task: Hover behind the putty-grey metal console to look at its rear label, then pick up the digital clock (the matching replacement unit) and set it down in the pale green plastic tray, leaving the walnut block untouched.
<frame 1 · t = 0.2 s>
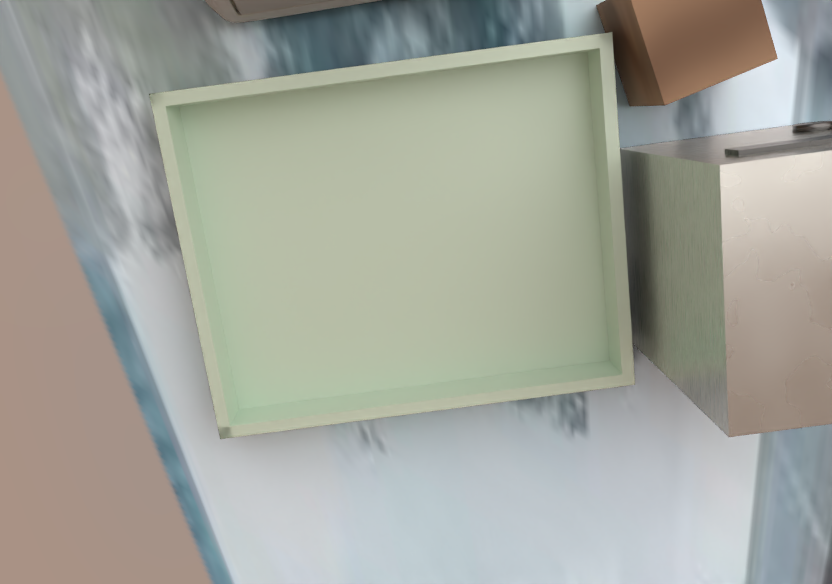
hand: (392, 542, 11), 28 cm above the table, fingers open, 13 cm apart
tray: (404, 237, 38), on the table
walnut block: (661, 36, 36), on the table
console: (721, 234, 38), on the table
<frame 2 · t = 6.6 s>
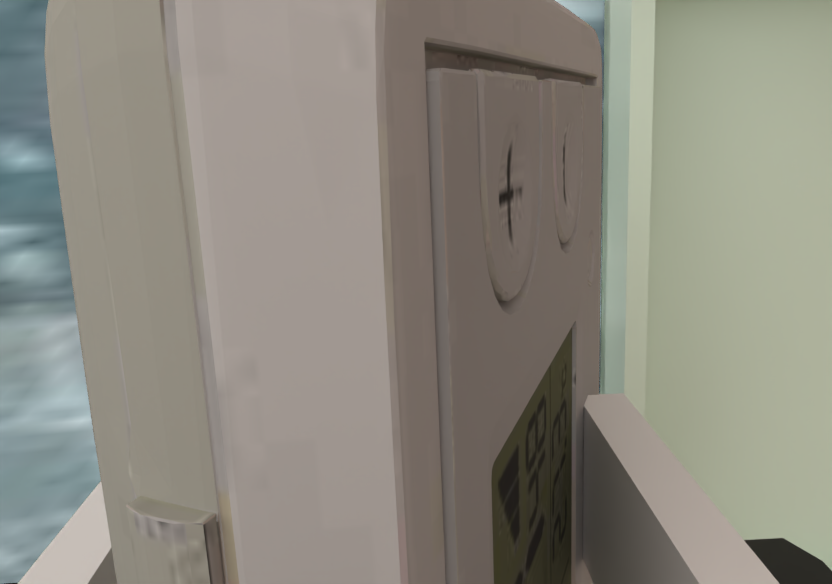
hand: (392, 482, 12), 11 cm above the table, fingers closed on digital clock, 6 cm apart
digital clock: (449, 411, 16), point 8 cm above the table, touching gripper
when the fingers open (2 cm above the table, at t = 10.6 s): digital clock stays where it is, resting on tray.
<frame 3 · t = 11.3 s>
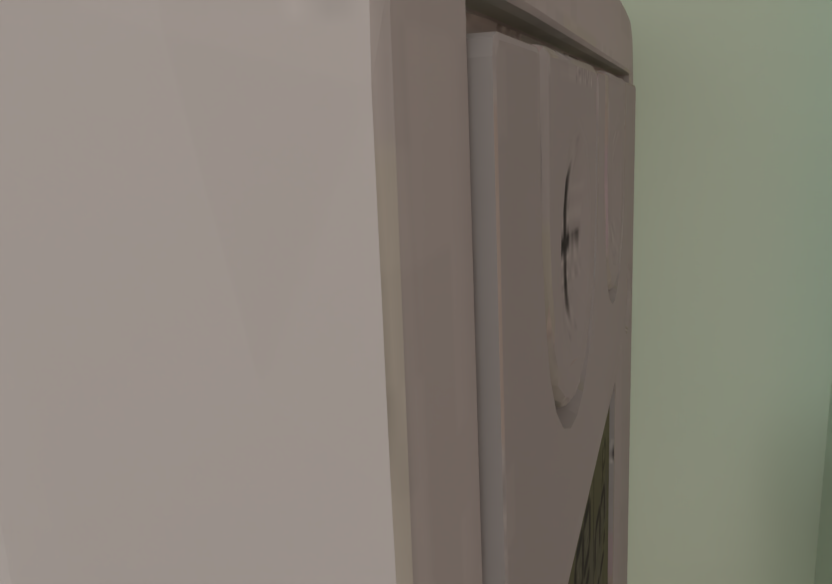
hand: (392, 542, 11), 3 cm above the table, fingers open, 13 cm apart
tray: (393, 446, 14), on the table
digital clock: (447, 469, 14), resting on tray
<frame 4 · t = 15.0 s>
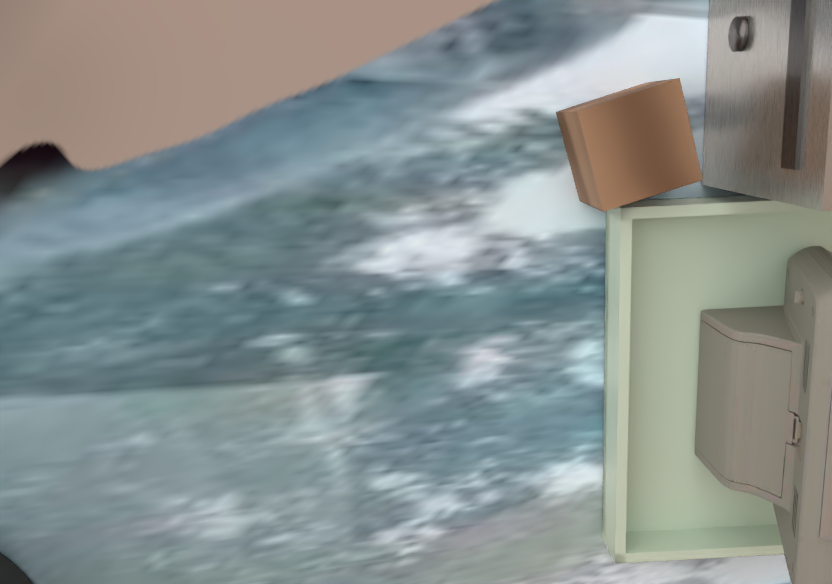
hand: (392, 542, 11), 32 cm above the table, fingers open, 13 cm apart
tray: (745, 371, 44), on the table
walnut block: (611, 142, 41), on the table
digital clock: (765, 378, 44), resting on tray
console: (798, 86, 40), on the table
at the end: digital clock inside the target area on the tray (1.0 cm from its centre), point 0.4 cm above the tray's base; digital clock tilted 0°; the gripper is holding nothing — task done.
